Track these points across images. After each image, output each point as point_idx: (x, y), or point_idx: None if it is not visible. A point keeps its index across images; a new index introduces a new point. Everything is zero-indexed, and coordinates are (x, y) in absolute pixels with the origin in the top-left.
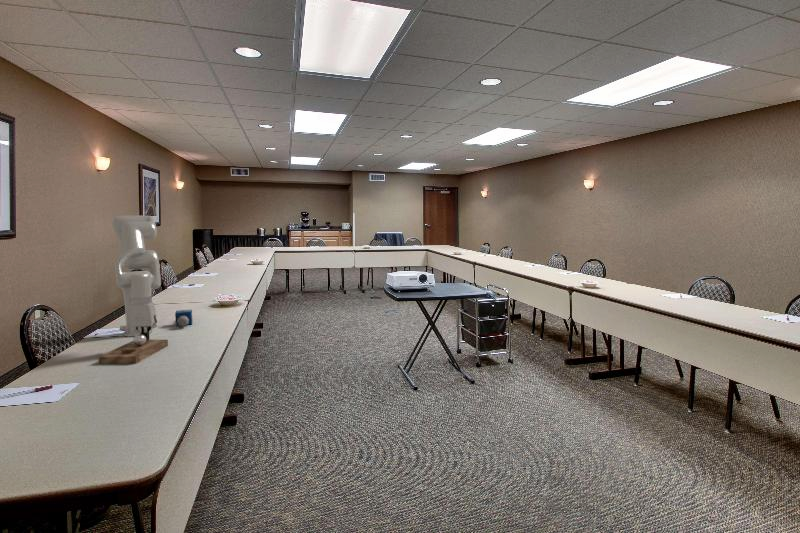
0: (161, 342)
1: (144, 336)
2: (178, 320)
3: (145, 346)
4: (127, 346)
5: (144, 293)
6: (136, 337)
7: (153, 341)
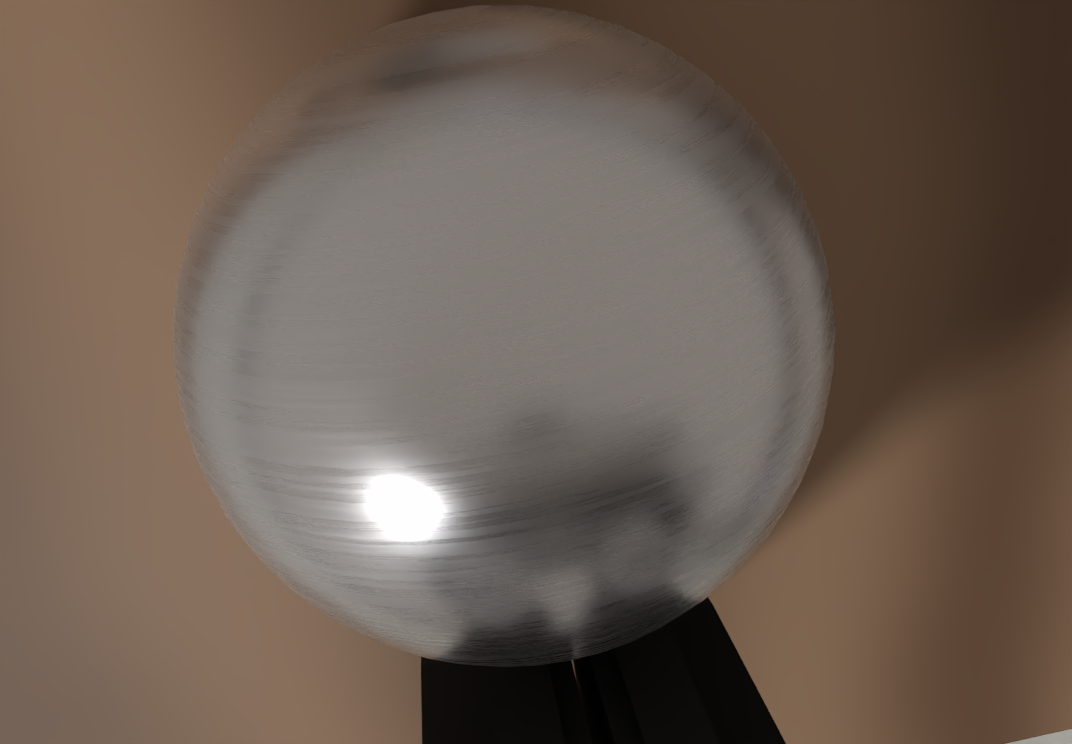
0: None
1: (223, 496)
2: None
3: (124, 154)
4: (897, 41)
5: None
6: (517, 109)
7: (368, 716)
